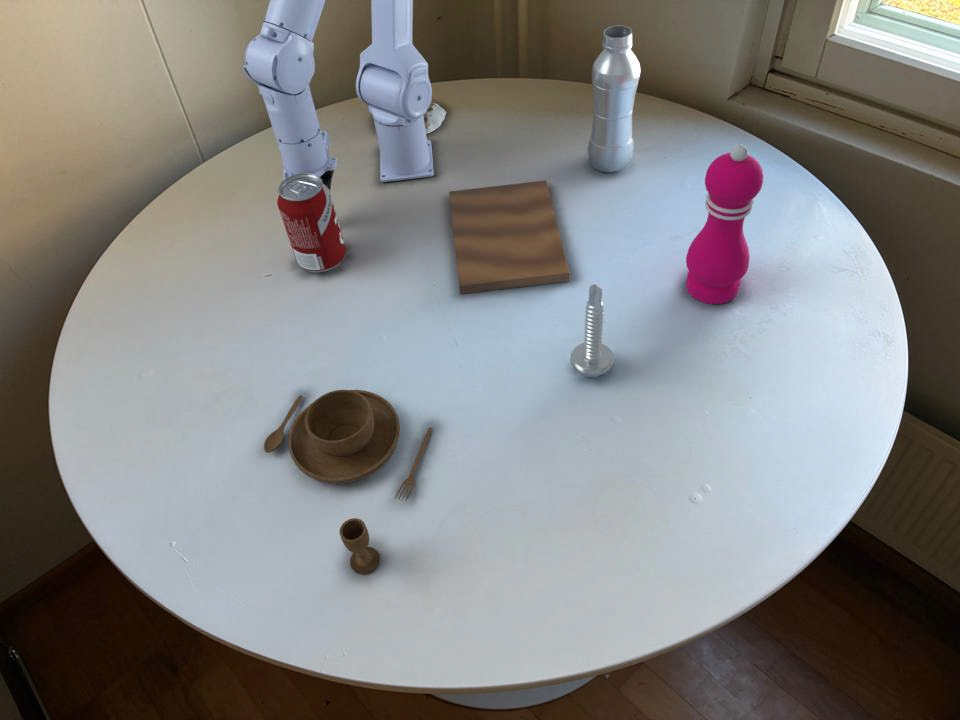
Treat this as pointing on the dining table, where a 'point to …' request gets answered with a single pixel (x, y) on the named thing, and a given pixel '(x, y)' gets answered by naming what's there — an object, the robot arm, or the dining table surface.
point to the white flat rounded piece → (433, 117)
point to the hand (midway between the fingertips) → (322, 218)
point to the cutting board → (506, 238)
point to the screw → (593, 340)
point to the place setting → (346, 451)
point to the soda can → (311, 222)
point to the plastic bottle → (613, 101)
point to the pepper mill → (724, 228)
